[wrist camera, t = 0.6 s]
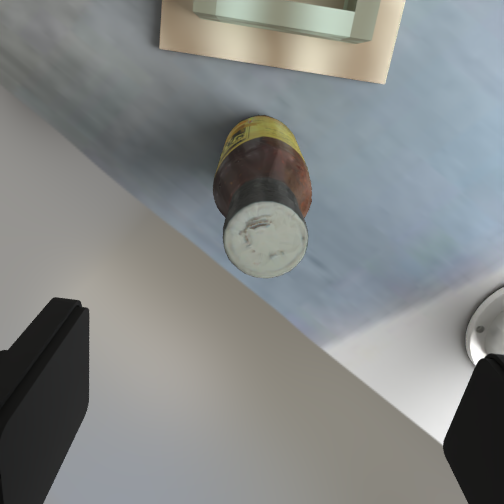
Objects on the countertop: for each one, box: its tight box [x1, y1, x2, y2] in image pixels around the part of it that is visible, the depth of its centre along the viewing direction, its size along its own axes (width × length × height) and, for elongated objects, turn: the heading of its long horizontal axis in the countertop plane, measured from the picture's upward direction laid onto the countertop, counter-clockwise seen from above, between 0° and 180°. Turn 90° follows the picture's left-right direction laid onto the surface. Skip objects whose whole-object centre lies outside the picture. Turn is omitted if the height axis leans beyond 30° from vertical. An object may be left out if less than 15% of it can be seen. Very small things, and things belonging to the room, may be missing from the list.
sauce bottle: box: [213, 115, 312, 278], centre depth 29 cm, size 7×6×20 cm
